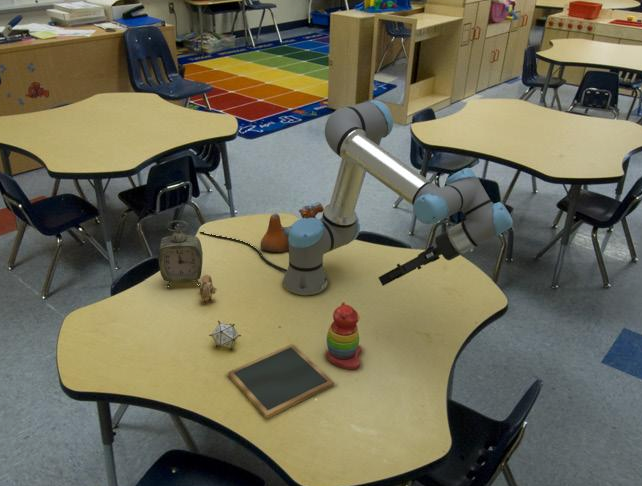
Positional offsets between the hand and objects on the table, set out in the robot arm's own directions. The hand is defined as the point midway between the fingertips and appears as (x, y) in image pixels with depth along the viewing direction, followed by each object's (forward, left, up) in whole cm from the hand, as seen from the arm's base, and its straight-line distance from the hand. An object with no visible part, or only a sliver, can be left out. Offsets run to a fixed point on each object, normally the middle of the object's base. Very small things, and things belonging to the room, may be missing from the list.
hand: (388, 278), depth 168 cm
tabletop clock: (-62, -37, -22) cm, 76 cm away
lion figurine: (-49, -34, -22) cm, 64 cm away
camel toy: (-62, +10, -22) cm, 67 cm away
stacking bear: (+1, -16, -22) cm, 27 cm away
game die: (-23, -42, -22) cm, 53 cm away
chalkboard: (-1, -37, -21) cm, 43 cm away
